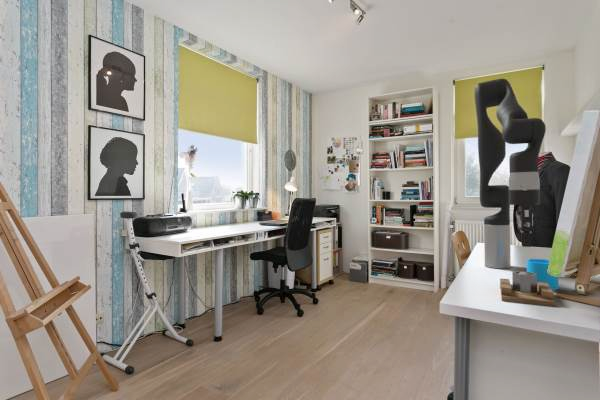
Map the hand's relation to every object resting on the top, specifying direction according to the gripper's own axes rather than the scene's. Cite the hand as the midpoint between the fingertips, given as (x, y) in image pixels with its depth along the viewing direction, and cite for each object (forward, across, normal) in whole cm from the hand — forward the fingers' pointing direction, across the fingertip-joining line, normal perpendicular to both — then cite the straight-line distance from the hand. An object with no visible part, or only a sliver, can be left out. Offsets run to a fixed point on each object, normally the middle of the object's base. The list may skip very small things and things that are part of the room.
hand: (524, 244), depth 101 cm
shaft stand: (+15, 0, 0) cm, 15 cm away
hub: (+13, 0, 0) cm, 13 cm away
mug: (+15, -16, +6) cm, 23 cm away
